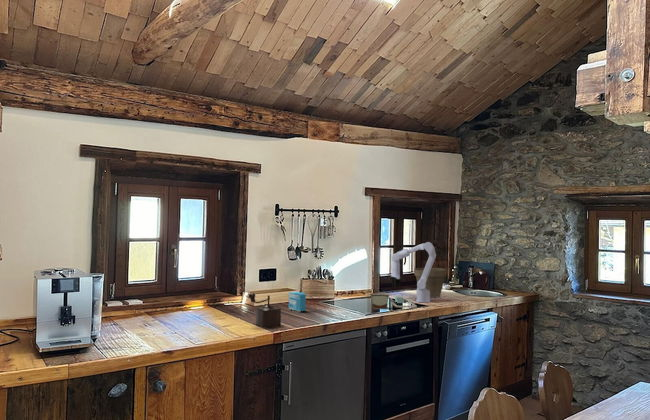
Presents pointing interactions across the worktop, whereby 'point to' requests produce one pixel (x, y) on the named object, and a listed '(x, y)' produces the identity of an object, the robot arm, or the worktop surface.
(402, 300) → the painted block
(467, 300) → the worktop surface
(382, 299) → the food container
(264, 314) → the manual coffee grinder
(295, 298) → the light blue box
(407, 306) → the chute
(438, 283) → the plant pot
